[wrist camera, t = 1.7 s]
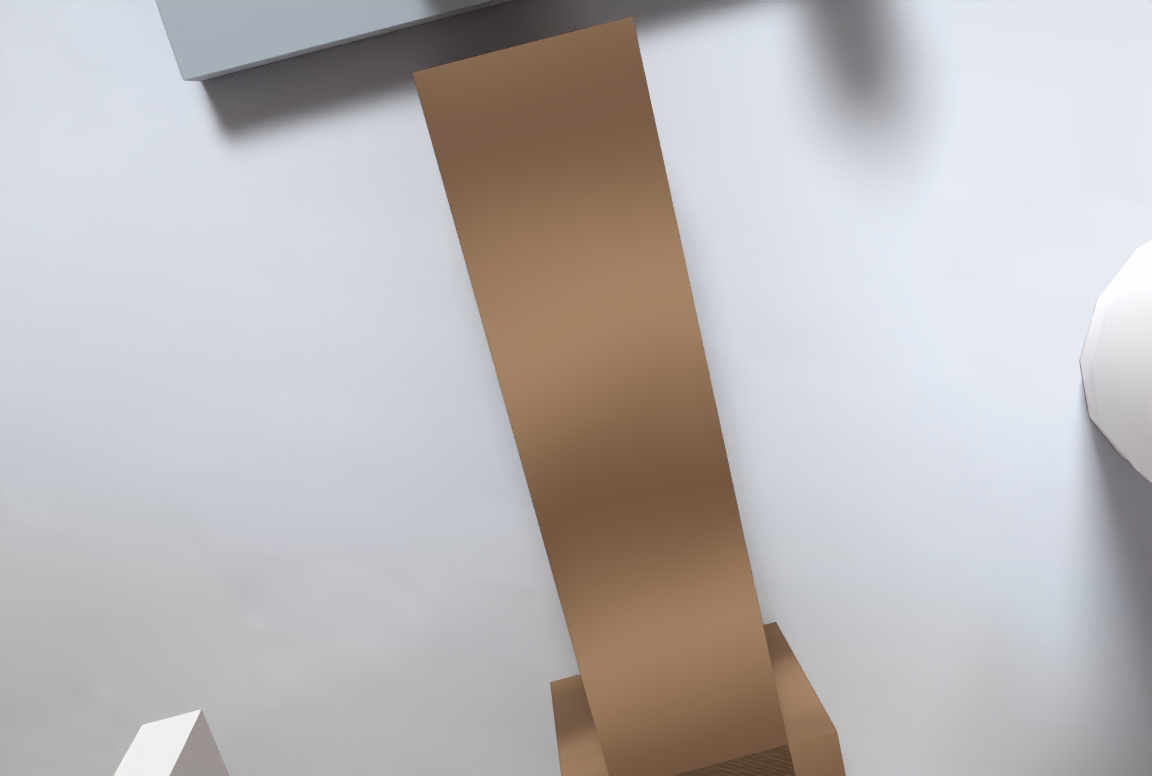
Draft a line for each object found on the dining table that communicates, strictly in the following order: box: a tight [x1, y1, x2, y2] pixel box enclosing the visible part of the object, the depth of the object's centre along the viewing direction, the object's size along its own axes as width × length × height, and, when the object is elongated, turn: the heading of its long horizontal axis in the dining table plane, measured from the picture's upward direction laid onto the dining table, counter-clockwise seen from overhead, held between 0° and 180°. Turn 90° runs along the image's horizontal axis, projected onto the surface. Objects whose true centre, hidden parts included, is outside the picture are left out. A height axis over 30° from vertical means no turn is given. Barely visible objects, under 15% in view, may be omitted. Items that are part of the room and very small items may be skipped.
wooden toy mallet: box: [412, 16, 846, 776], centre depth 21 cm, size 18×6×4 cm, turn 14°
